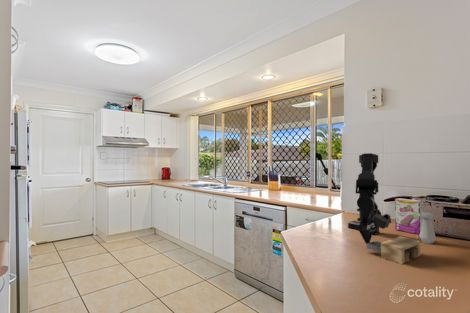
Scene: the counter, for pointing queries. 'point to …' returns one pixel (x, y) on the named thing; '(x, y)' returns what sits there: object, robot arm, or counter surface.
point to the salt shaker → (427, 229)
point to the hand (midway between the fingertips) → (367, 243)
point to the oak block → (400, 249)
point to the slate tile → (377, 247)
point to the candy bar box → (408, 215)
